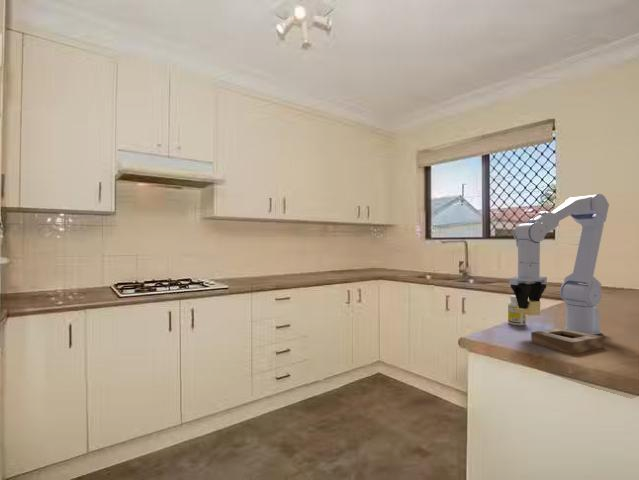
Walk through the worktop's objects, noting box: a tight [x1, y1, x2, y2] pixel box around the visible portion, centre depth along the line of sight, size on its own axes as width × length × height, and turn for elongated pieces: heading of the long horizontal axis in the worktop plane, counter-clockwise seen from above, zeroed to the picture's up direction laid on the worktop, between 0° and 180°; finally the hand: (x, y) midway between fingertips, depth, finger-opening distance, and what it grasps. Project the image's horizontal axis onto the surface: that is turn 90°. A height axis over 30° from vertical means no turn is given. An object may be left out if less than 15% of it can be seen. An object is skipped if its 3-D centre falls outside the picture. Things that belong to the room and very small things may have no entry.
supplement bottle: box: [507, 294, 527, 326], centre depth 125 cm, size 5×5×10 cm
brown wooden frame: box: [530, 327, 604, 355], centre depth 100 cm, size 14×11×3 cm
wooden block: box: [516, 298, 541, 316], centre depth 108 cm, size 4×4×4 cm
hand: (528, 307), depth 108 cm, fingers closed on wooden block, 4 cm apart
